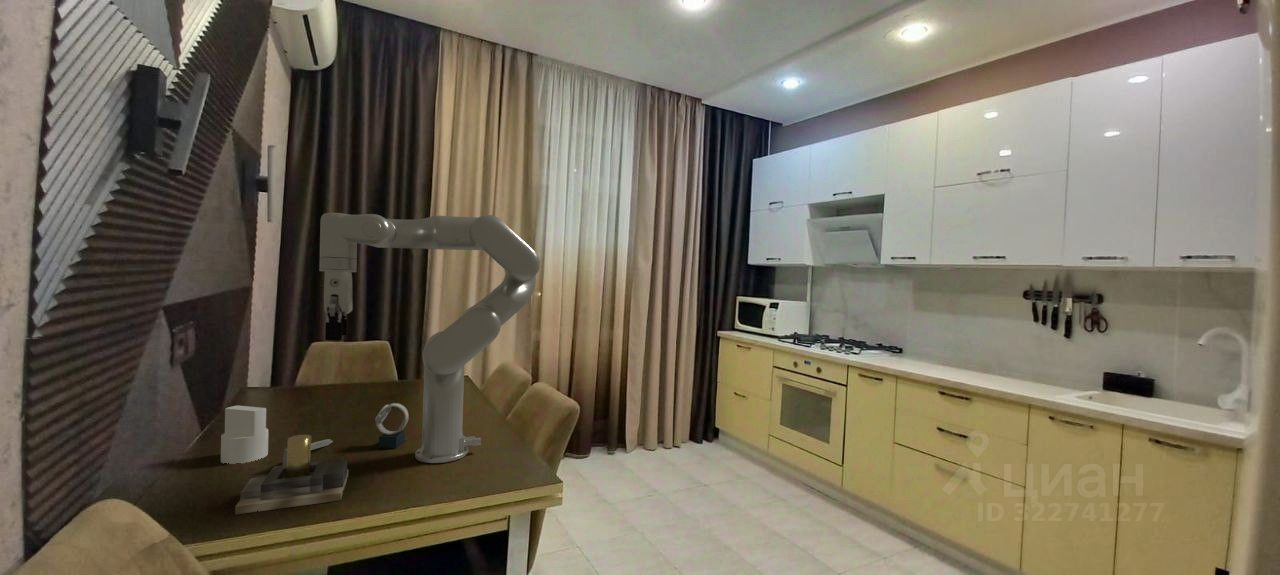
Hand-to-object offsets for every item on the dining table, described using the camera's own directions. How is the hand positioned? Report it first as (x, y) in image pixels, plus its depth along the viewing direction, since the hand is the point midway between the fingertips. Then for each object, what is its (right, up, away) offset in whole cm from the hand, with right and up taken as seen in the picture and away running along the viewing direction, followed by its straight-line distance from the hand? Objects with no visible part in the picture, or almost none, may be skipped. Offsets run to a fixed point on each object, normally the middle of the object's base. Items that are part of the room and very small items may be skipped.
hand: (336, 337), depth 117 cm
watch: (+6, -31, +15) cm, 34 cm away
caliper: (-10, -30, +5) cm, 32 cm away
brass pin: (+1, -29, -15) cm, 33 cm away
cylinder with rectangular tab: (-24, -30, +3) cm, 38 cm away
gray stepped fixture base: (+1, -31, -15) cm, 34 cm away
